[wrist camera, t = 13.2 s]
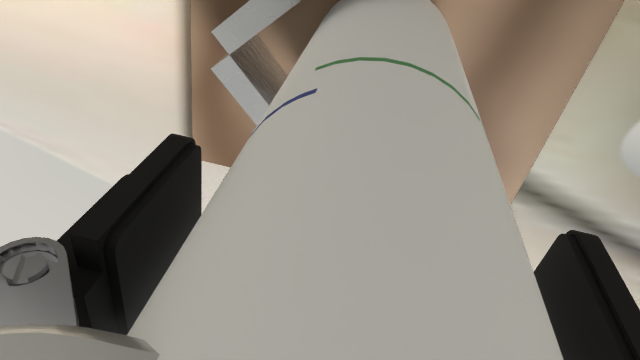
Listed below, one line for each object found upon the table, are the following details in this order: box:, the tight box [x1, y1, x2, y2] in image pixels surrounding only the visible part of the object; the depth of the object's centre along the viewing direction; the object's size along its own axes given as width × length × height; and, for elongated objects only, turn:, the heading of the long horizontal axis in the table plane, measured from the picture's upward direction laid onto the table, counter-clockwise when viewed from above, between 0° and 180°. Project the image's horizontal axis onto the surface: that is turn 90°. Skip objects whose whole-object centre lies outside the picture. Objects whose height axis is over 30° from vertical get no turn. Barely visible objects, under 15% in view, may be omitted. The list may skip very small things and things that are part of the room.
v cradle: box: [190, 0, 624, 205], centre depth 21 cm, size 20×18×5 cm
